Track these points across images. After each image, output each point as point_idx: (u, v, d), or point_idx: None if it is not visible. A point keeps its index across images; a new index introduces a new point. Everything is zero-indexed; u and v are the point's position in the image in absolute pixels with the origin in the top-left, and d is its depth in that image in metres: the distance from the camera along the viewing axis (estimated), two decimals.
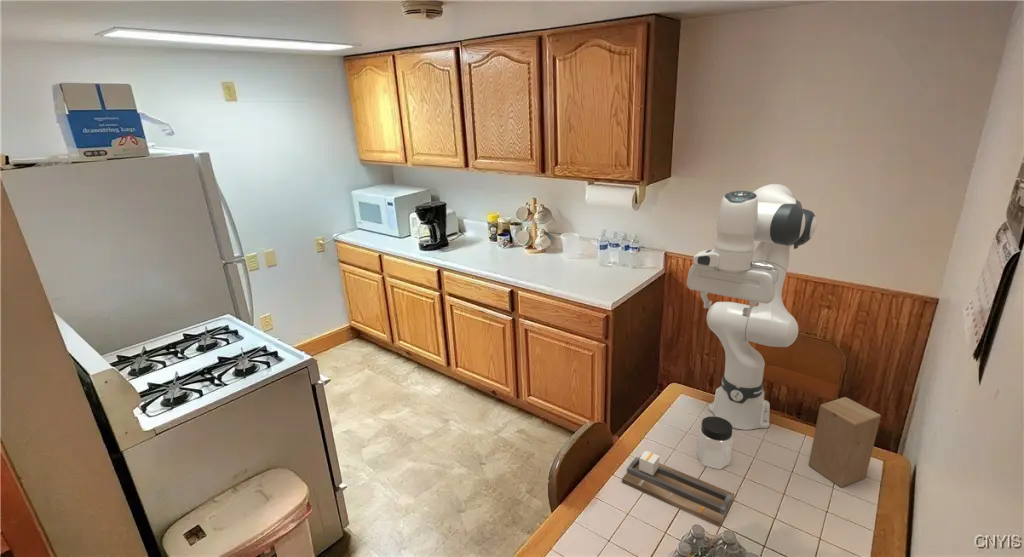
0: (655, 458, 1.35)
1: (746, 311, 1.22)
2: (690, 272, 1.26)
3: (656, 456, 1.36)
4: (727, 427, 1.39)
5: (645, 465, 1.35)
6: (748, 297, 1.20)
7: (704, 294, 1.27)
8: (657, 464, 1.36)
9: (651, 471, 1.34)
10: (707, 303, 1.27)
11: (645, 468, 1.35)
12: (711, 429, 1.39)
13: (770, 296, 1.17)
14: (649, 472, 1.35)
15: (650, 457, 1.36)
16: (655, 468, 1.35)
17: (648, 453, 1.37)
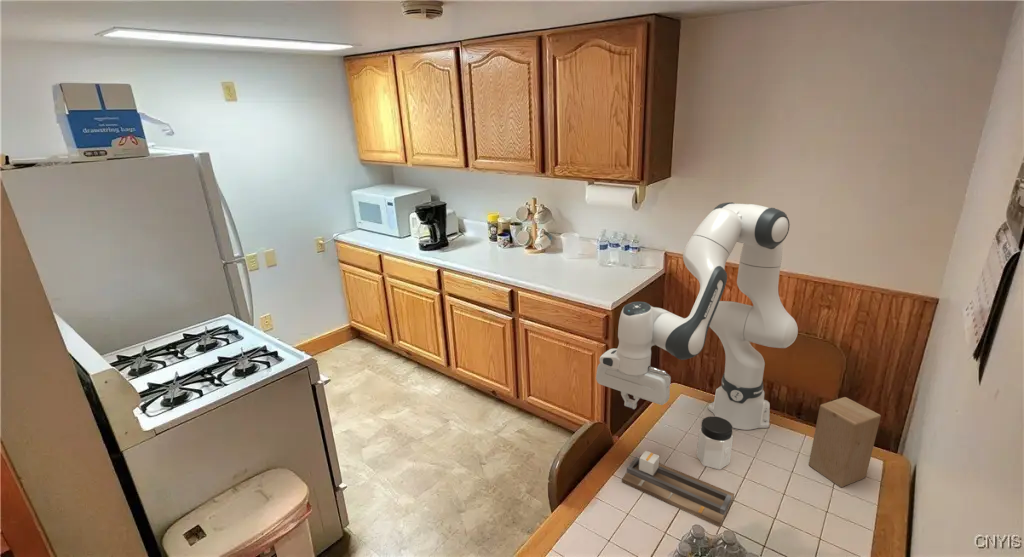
0: (655, 458, 1.35)
1: (632, 404, 1.36)
2: (598, 370, 1.38)
3: (656, 456, 1.36)
4: (727, 427, 1.39)
5: (645, 465, 1.35)
6: (646, 397, 1.31)
7: (624, 394, 1.36)
8: (657, 464, 1.36)
9: (651, 471, 1.34)
10: (627, 402, 1.37)
11: (645, 468, 1.35)
12: (711, 429, 1.39)
13: (663, 399, 1.28)
14: (649, 472, 1.35)
15: (650, 457, 1.36)
16: (655, 468, 1.35)
17: (648, 453, 1.37)
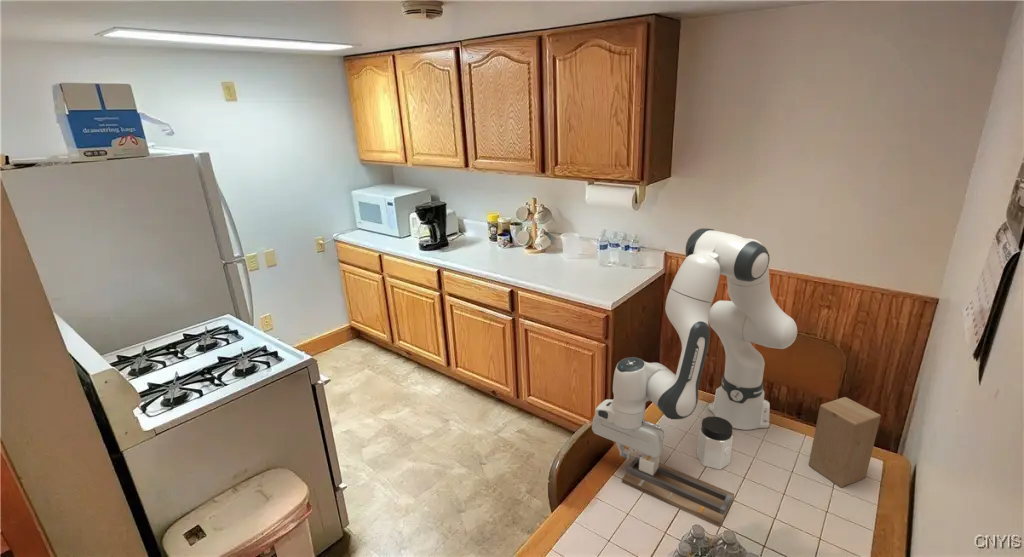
0: (655, 458, 1.35)
1: (627, 454, 1.39)
2: (593, 420, 1.42)
3: None
4: (727, 427, 1.39)
5: (645, 465, 1.35)
6: (640, 450, 1.35)
7: (619, 445, 1.40)
8: (657, 464, 1.36)
9: (651, 471, 1.34)
10: (622, 452, 1.40)
11: (645, 468, 1.35)
12: (711, 429, 1.39)
13: (657, 453, 1.32)
14: (649, 472, 1.35)
15: (650, 457, 1.36)
16: (655, 468, 1.35)
17: None
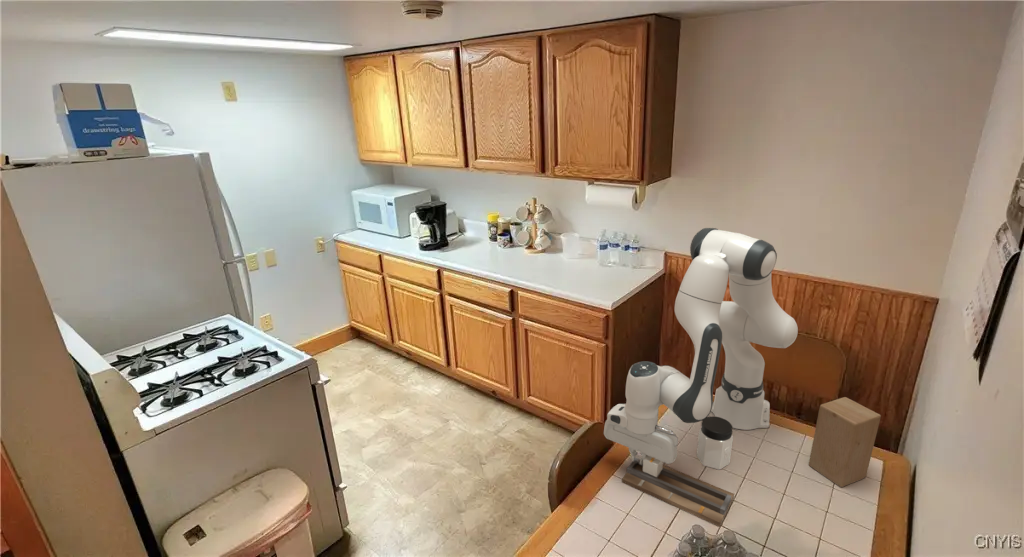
0: None
1: (639, 460, 1.37)
2: (605, 425, 1.40)
3: None
4: (727, 427, 1.39)
5: (649, 467, 1.35)
6: (653, 455, 1.33)
7: (632, 450, 1.38)
8: (661, 466, 1.36)
9: (655, 473, 1.34)
10: (635, 458, 1.38)
11: (649, 470, 1.35)
12: (711, 429, 1.39)
13: (671, 458, 1.30)
14: (653, 474, 1.34)
15: (654, 459, 1.35)
16: (659, 470, 1.35)
17: None
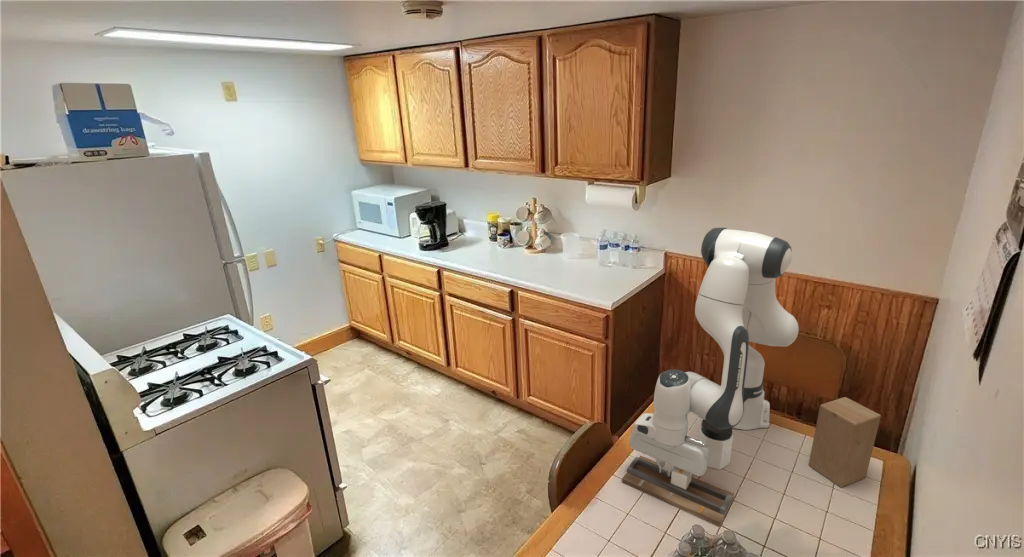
0: None
1: (667, 471, 1.33)
2: (632, 435, 1.35)
3: None
4: None
5: (677, 479, 1.30)
6: (683, 467, 1.28)
7: (659, 461, 1.33)
8: (690, 478, 1.31)
9: (684, 485, 1.29)
10: (662, 469, 1.34)
11: (678, 482, 1.30)
12: (711, 429, 1.39)
13: (701, 471, 1.25)
14: (682, 486, 1.30)
15: (683, 470, 1.30)
16: (688, 482, 1.30)
17: None
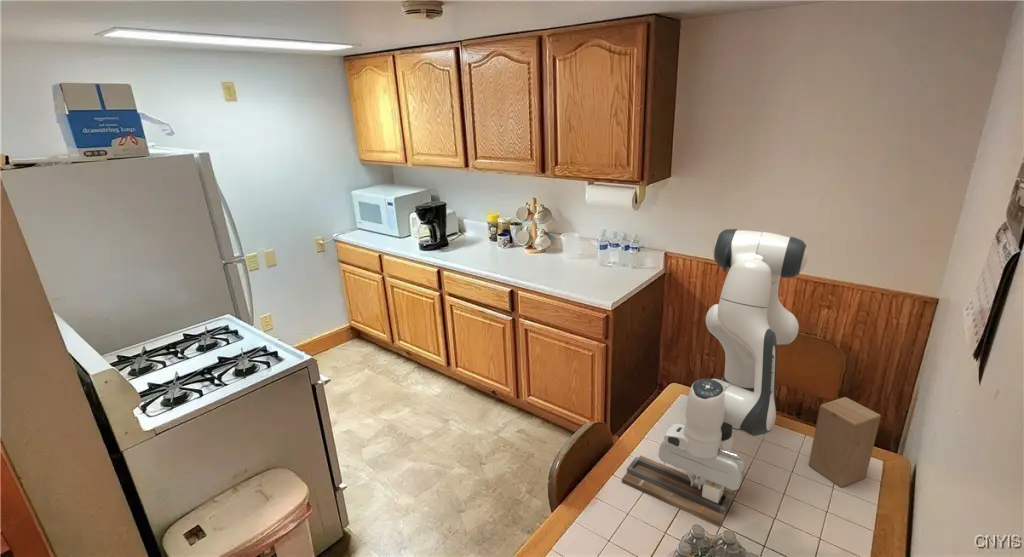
0: None
1: (698, 484, 1.28)
2: (661, 447, 1.30)
3: None
4: (727, 427, 1.39)
5: (709, 492, 1.25)
6: (716, 481, 1.23)
7: (691, 474, 1.28)
8: (722, 491, 1.26)
9: (716, 499, 1.24)
10: (694, 483, 1.29)
11: (709, 495, 1.25)
12: None
13: (736, 485, 1.20)
14: (714, 500, 1.25)
15: (715, 483, 1.26)
16: (720, 495, 1.25)
17: None
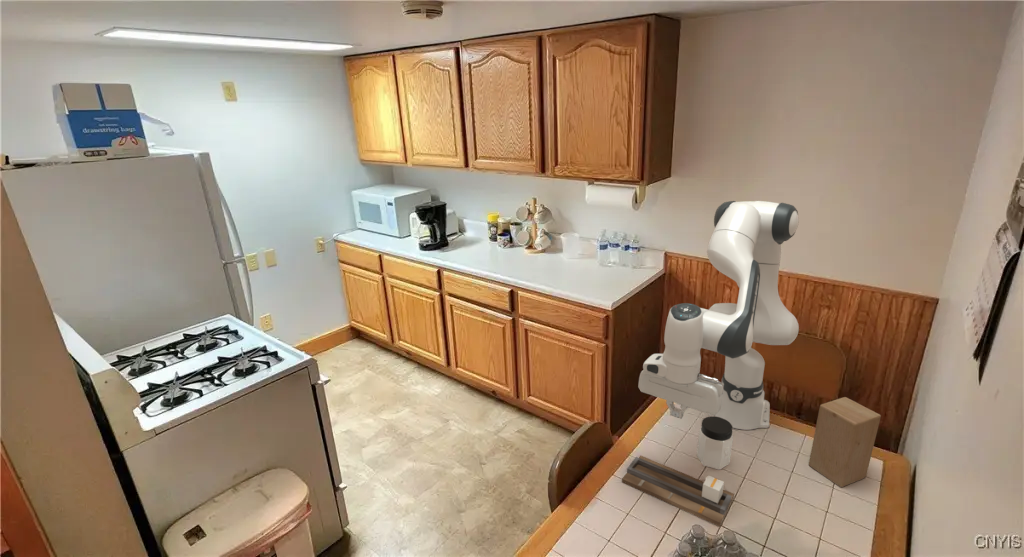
0: (720, 484, 1.25)
1: (678, 413, 1.26)
2: (641, 377, 1.28)
3: (721, 482, 1.26)
4: (727, 427, 1.39)
5: (709, 492, 1.25)
6: (695, 407, 1.22)
7: (670, 403, 1.26)
8: (722, 491, 1.26)
9: (716, 499, 1.24)
10: (673, 411, 1.27)
11: (709, 495, 1.25)
12: (711, 429, 1.39)
13: (716, 409, 1.18)
14: (714, 500, 1.25)
15: (714, 483, 1.26)
16: (720, 495, 1.25)
17: (711, 479, 1.27)
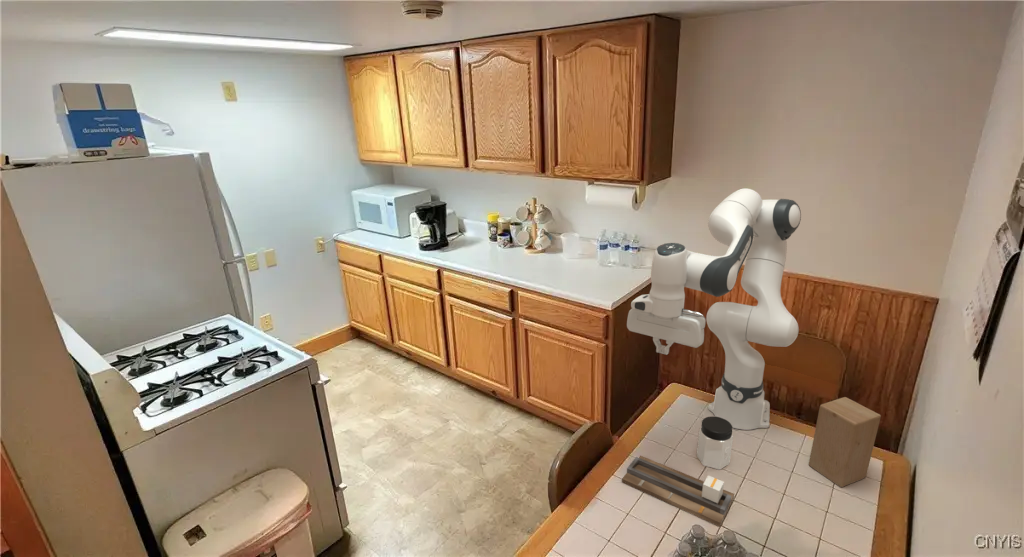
0: (720, 484, 1.25)
1: (664, 349, 1.34)
2: (629, 316, 1.36)
3: (721, 482, 1.26)
4: (727, 427, 1.39)
5: (709, 492, 1.25)
6: (680, 341, 1.29)
7: (656, 339, 1.34)
8: (722, 491, 1.26)
9: (716, 499, 1.24)
10: (659, 348, 1.34)
11: (709, 495, 1.25)
12: (711, 429, 1.39)
13: (698, 341, 1.26)
14: (714, 500, 1.25)
15: (714, 483, 1.26)
16: (720, 495, 1.25)
17: (711, 479, 1.27)
